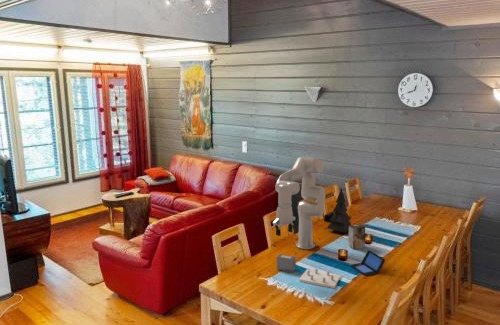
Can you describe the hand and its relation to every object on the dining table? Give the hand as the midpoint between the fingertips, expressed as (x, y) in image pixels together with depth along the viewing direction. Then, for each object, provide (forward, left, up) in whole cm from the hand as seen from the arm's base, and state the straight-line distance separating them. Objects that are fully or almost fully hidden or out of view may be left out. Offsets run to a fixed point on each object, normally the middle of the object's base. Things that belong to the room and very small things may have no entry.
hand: (284, 233), depth 230 cm
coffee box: (-54, +32, -24) cm, 67 cm away
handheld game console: (-23, +44, -24) cm, 55 cm away
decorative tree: (-79, +15, -24) cm, 84 cm away
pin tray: (0, +22, -24) cm, 32 cm away
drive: (-4, 0, -24) cm, 24 cm away
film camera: (-101, +3, -24) cm, 104 cm away
